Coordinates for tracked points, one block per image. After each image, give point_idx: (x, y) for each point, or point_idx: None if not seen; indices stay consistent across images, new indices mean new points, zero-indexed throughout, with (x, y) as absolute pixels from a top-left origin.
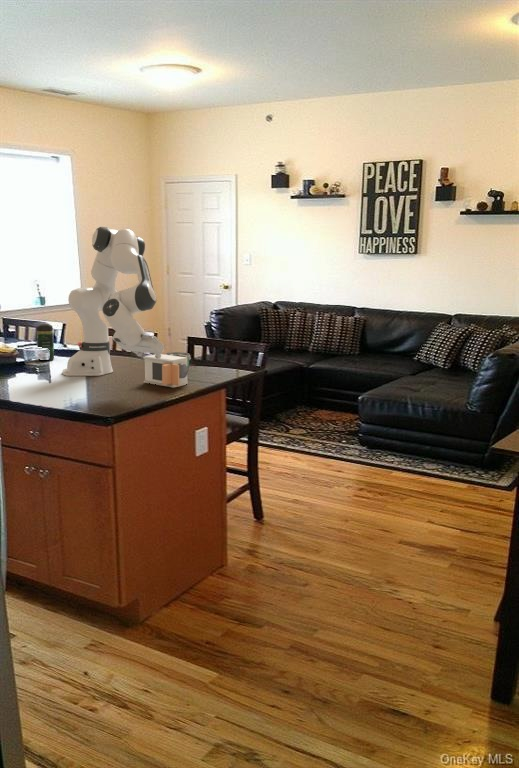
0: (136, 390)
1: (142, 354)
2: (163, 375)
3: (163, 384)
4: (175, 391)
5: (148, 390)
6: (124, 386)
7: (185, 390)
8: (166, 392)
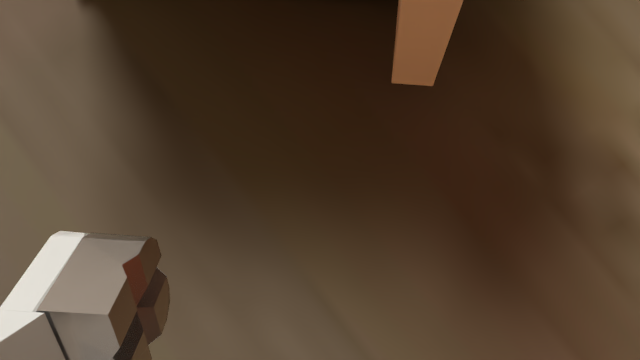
0: (211, 271)
1: (157, 254)
2: (420, 46)
3: (409, 83)
4: (553, 99)
5: (308, 207)
6: (8, 191)
7: (603, 12)
8: (511, 183)
